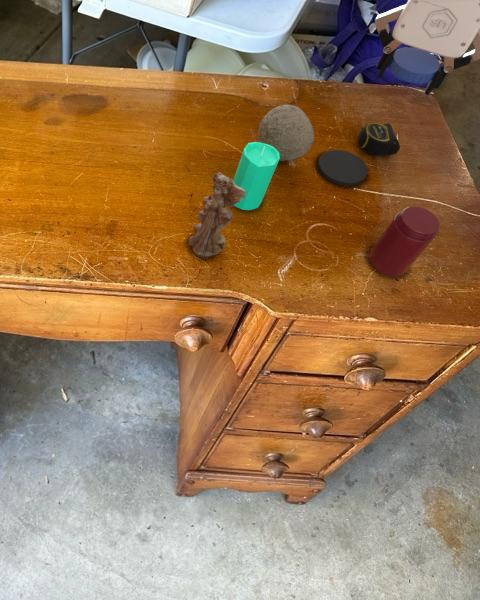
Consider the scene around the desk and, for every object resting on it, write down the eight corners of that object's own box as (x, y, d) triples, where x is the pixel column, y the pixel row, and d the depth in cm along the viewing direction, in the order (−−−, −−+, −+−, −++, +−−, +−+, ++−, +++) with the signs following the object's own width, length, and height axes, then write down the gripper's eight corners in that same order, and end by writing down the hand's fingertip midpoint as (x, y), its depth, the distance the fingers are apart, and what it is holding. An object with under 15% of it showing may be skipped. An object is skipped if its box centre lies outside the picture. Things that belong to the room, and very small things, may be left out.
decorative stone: (242, 146, 111) (256, 103, 103) (275, 132, 113) (292, 89, 105) (276, 179, 106) (294, 136, 98) (310, 164, 108) (331, 121, 100)
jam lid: (384, 54, 89) (389, 44, 88) (429, 59, 89) (434, 49, 87) (391, 81, 85) (397, 71, 84) (438, 86, 85) (445, 76, 83)
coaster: (371, 163, 109) (372, 160, 108) (358, 192, 105) (360, 189, 104) (325, 146, 111) (326, 143, 111) (311, 174, 107) (312, 171, 106)
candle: (221, 196, 103) (238, 144, 93) (243, 181, 105) (262, 129, 95) (246, 215, 101) (267, 164, 91) (268, 200, 103) (290, 148, 93)
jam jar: (409, 254, 97) (444, 212, 88) (405, 281, 93) (440, 241, 85) (371, 241, 98) (401, 199, 89) (365, 268, 95) (396, 226, 86)
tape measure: (394, 160, 110) (404, 145, 107) (359, 158, 110) (367, 143, 107) (385, 136, 114) (394, 121, 111) (351, 134, 114) (359, 119, 110)
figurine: (176, 237, 97) (193, 172, 85) (203, 223, 99) (224, 157, 87) (204, 266, 94) (226, 202, 81) (231, 251, 96) (257, 187, 83)
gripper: (399, -45, 74) (342, 76, 89) (542, -6, 70) (457, 114, 85) (411, -68, 78) (355, 52, 93) (547, -32, 73) (465, 88, 88)
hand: (404, 81), depth 89 cm, fingers closed on jam lid, 6 cm apart
